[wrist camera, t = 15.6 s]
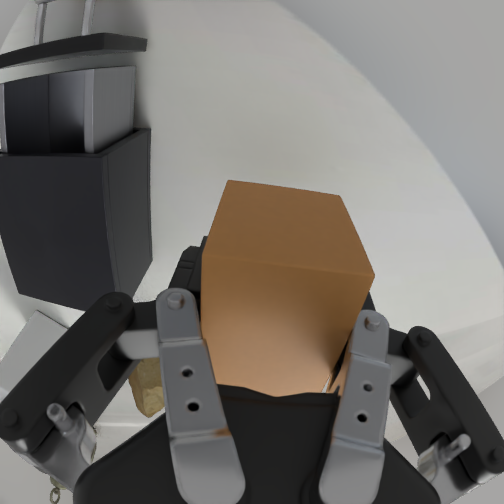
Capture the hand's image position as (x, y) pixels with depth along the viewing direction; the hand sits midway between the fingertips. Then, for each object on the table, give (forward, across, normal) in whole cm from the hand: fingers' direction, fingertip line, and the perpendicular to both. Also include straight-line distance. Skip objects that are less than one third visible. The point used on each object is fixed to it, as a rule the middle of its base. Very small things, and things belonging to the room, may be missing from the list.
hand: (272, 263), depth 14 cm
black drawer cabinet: (+17, +18, +6) cm, 25 cm away
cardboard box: (+1, 0, 0) cm, 1 cm away
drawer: (+16, +17, -6) cm, 24 cm away
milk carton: (+17, +31, +31) cm, 47 cm away
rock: (+17, +11, +28) cm, 34 cm away
